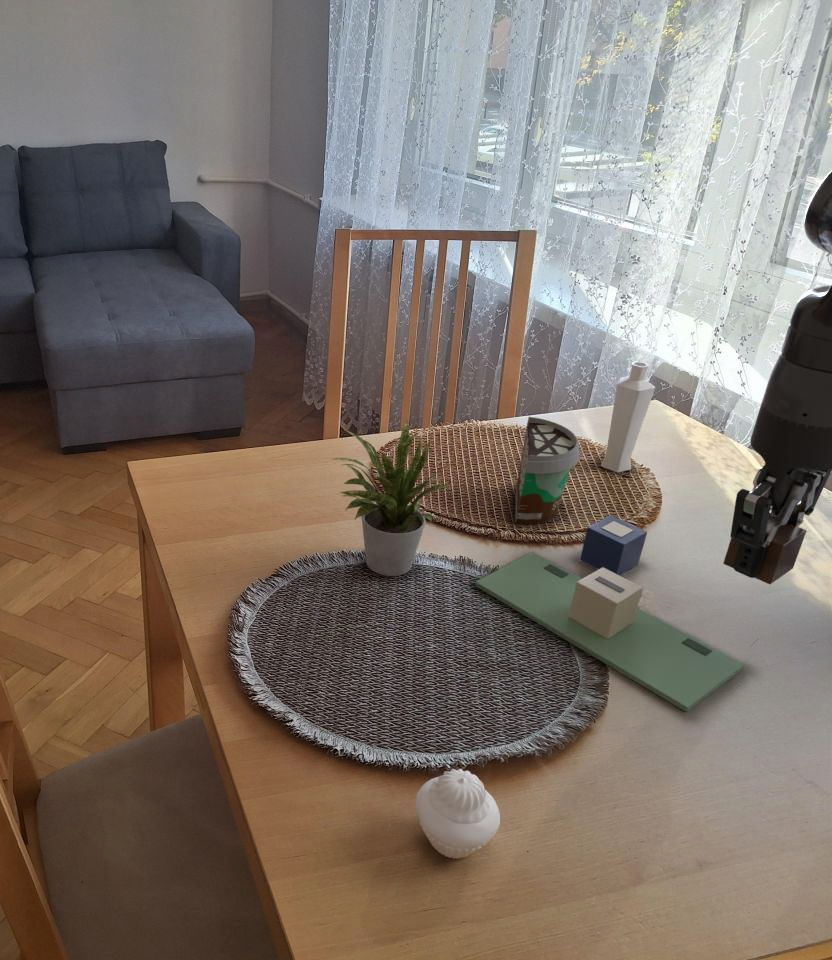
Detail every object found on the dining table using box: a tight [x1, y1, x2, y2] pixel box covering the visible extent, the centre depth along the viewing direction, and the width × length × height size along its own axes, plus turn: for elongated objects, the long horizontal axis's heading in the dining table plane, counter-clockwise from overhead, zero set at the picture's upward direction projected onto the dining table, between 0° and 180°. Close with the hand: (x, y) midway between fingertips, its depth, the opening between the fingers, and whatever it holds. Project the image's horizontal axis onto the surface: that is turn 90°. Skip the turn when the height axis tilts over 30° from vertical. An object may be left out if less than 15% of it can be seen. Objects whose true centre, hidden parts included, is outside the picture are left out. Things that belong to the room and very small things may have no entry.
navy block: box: [579, 514, 648, 576], centre depth 98 cm, size 4×4×5 cm
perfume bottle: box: [600, 360, 656, 473], centre depth 115 cm, size 5×4×15 cm
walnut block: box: [723, 523, 807, 585], centre depth 84 cm, size 4×4×5 cm
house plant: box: [332, 419, 453, 577], centre depth 97 cm, size 14×14×16 cm
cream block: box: [569, 567, 644, 639], centre depth 88 cm, size 4×4×5 cm
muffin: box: [414, 768, 501, 860], centre depth 65 cm, size 6×6×7 cm
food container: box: [514, 416, 580, 525], centre depth 107 cm, size 12×6×10 cm, turn 161°
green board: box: [474, 551, 745, 713], centre depth 89 cm, size 10×24×1 cm, turn 34°
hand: (758, 563), depth 85 cm, fingers closed on walnut block, 4 cm apart
